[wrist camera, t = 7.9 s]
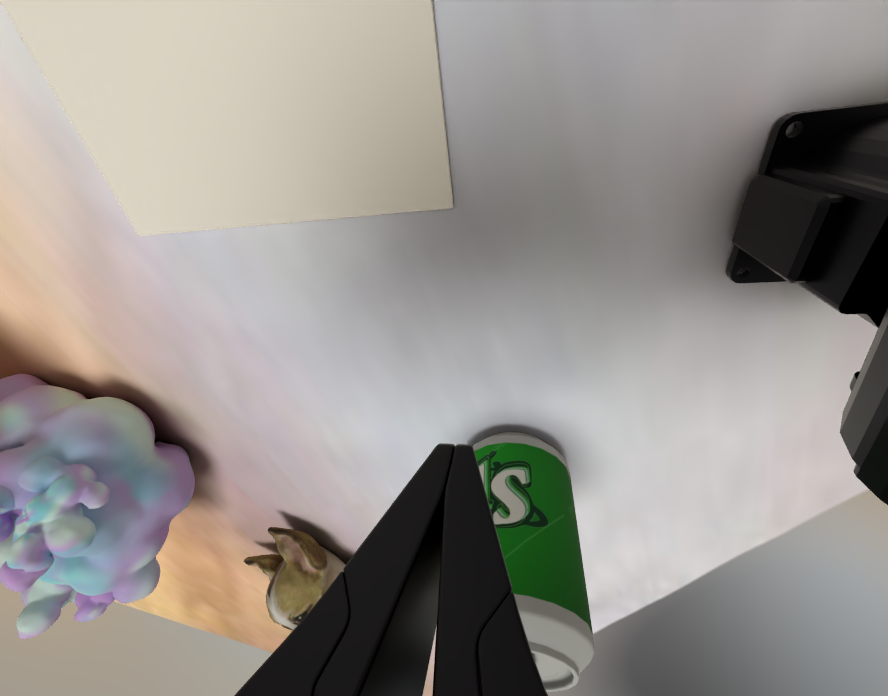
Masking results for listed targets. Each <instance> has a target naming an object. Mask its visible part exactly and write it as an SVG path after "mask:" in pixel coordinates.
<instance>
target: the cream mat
mask: <svg viewBox="0 0 888 696" xmlns="http://www.w3.org/2000/svg"><path fill="white" fill-rule="evenodd" d="M0 2H1V4H2V5H3V7H4V9H5V10H6V12H7V14H8V16H9V17H10V19H11V21H12V22H13V24H14V26H15V27H16V29H17V31H18V33H19V34H20V36H21V38H22V39H23V41H24V43H25V44H26V46H27V48H28V50H29V51H30V53H31V55H32V56H33V58H34V60H35V61H36V63H37V65H38V67H39V68H40V70H41V72H42V73H43V75H44V77H45V78H46V80H47V82H48V84H49V85H50V87H51V89H52V90H53V92H54V94H55V95H56V97H57V99H58V101H59V102H60V104H61V106H62V107H63V109H64V111H65V112H66V114H67V116H68V118H69V119H70V121H71V123H72V124H73V126H74V128H75V129H76V131H77V133H78V135H79V136H80V138H81V140H82V141H83V143H84V145H85V146H86V148H87V150H88V152H89V153H90V155H91V157H92V158H93V160H94V162H95V163H96V165H97V167H98V169H99V170H100V172H101V174H102V175H103V177H104V179H105V180H106V182H107V184H108V186H109V187H110V189H111V191H112V192H113V194H114V196H115V197H116V199H117V201H118V203H119V204H120V206H121V208H122V209H123V211H124V213H125V214H126V216H127V218H128V220H129V221H130V223H131V225H132V226H133V228H134V230H135V231H136V233H137V235H138V236H144V235H155V234H167V233H178V232H189V231H201V230H212V229H224V228H235V227H246V226H258V225H269V224H281V223H292V222H303V221H315V220H326V219H337V218H349V217H360V216H372V215H383V214H394V213H406V212H417V211H428V210H440V209H451V208H453V207H454V205H453V195H452V185H451V175H450V166H449V156H448V146H447V136H446V126H445V117H444V107H443V97H442V87H441V78H440V68H439V58H438V48H437V38H436V29H435V19H434V9H433V0H0Z"/></svg>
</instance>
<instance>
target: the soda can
mask: <svg viewBox="0 0 888 696" xmlns="http://www.w3.org/2000/svg"><path fill="white" fill-rule="evenodd" d="M473 448H474V452H475V455H476V459H477V462H478V466H479V470H480V473H481V477H482V481H483V484H484V488H485V491H486V495H487V499H488V502H489V506H490V509H491V513H492V517H493V520H494V524H495V527H496V531H497V535H498V538H499V542H500V545H501V549H502V553H503V556H504V560H505V563H506V567H507V571H508V574H509V578H510V581H511V585H512V590H513V593H514V595H515V599H516V602H517V606H518V610H519V613H520V617H521V620H522V623H523V626H524V630H525V633H526V636H527V639H528V643H529V646H530V649H531V652H532V654H533V657H534V660H535V663H536V665H537V668H538V671H539V673H540V676H541V679H542V681H543V684H544V687H545V689H546V692H556V691H560V690H566V689H569V688H571V687H573V686H575V685H576V684H577V682H578V679H579V673H580V672H581V671H582V670H583V669H584V668H585V667H586V666H587V665H588V664H589V663H590V661H591V659H592V656H593V654H594V651H595V647H594V640H593V633H592V626H591V619H590V612H589V605H588V598H587V591H586V584H585V577H584V570H583V563H582V556H581V549H580V542H579V535H578V528H577V521H576V514H575V507H574V500H573V493H572V486H571V479H570V472H569V469H568V466H567V463H566V461H565V459H564V458H563V457H562V456H561V455H560V454H559V452H558V451H557V450H556V449H555V448H553V447H551V446H549V445H547V444H546V443H545V442H543V441H542V440H540V439H538V438H536V437H535V436H531V435H528V434H524V433H519V432H504V433H498V434H494V435H491V436H489V437H487V438H485V439H483V440H482V441H480V442H477V443H475V444H474V445H473Z"/></svg>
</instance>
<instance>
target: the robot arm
mask: <svg viewBox="0 0 888 696" xmlns="http://www.w3.org/2000/svg"><path fill="white" fill-rule="evenodd" d="M794 122H795V123H796V129H795V130H794V132H793V133H792V134H790V135H789V136H787V135H786V130H787V128H788V126H790V125H791V124H792V123H794ZM732 241H733V243H734V244H735V246H734V249H733V252H732V255H731V258H730V261H729V264H728V267H727V271H726V274H727V276H728V277H729V278H730V279H731V280H732V281H734V282H735V283H757V282H783V281H788V282H790V283H797V284H799V285H800V286H802V287H803V288H805V289H806V290H808V291H809V292H811V293H812V294H813V295H815V296H816V297H818V298H819V299H821V300H822V301H824V302H825V303H827V304H828V305H830V306H831V307H833V308H834V309H836V310H837V311H839V312H840V313H843V314H857V315H859V316H860V317H862V318H863V319H865V320H867V321H868V322H870V323H871V324H873V325H874V326H876V327H877V328H879V329H878V331H877V333H876V336H875V338H874V340H873V343H872V345H871V347H870V350H869V352H868V354H867V357H866V359H865V361H864V364H863V366H862V368H861V371H859V372H856V373H855V374H854V377H853V379H852V381H851V384H850V389H851V391H852V392H851V395H850V397H849V399H848V401H847V404H846V406H845V408H844V411H843V416H842V422H841V429H840V434H841V436H842V438H843V440H844V442H845V444H846V446H847V449H848V451H849V453H850V455H851V457H852V459H853V460H854V461H855V463H856V466H855V468H854V473H855V475H856V477H857V478H858V479H859V480H861V481H862V482H863V483H864V484H865V485H866V486H867V487H868V488H869V489H870V490H871V491H872V492H873V493H874V494H875V495H876V496H877V497H878V498H879V499H880V500H882V501H883V502H884V503H886V504H887V505H888V102H879V103H871V104H862V105H854V106H846V107H837V108H829V109H820V110H812V111H803V112H795V113H791V114H787V115H785V116H784V117H782V118H781V119H780V120H779V121H778V122H777V123H776V124H775V126H774V128H773V130H772V132H771V135H770V138H769V142H768V145H767V148H766V151H765V154H764V157H763V160H762V163H761V166H760V169H759V172H758V175H757V176H756V177H755V178H754V179H753V180H752V181H751V183H750V186H749V189H748V193H747V196H746V199H745V202H744V205H743V208H742V211H741V214H740V218H739V221H738V224H737V227H736V230H735V233H734V236H733V240H732ZM745 267H746V269H745V271H744V272H743V273H741V274H738V275H737V272H738V271H739V270H740V269H741V268H745ZM343 570H344V572H343V571H342V572H340V573H339V574H338V576H337V577H336V578H335V580H334V581H333V582H332V584H331V585H330V586H329V588H328V589H327V590H326V592H325V593H324V594H323V595H322V597H321V598H320V599H319V600H318V602H317V603H316V604H315V605H314V607H313V608H312V609H311V610H310V612H309V613H308V614H307V615H306V616H305V618H304V619H303V620H302V621H301V622H300V623H299V624H298V626H297V627H296V628H295V629H294V630H293V631H292V632H291V634H290V635H289V636H288V637H287V638H286V639H285V640H284V642H283V643H282V644H281V645H280V646H279V647H278V648H277V649H276V650H275V651H274V653H273V654H272V655H271V656H270V657H269V658H268V659H267V660H266V661H265V663H264V664H263V665H262V666H261V667H260V668H259V669H258V670H257V671H256V672H255V674H254V675H253V676H252V677H251V678H250V679H249V680H248V681H247V682H246V683H245V684H244V686H243V687H242V688H241V689H240V690H239V691H238V692H237V693H236V695H235V696H422V695H423V690H424V685H425V680H426V675H427V670H428V665H429V660H430V655H431V650H432V645H433V640H434V635H435V630H436V625H437V630H436V647H435V664H434V681H433V696H548V694H547V692H546V689H545V687H544V684H543V681H542V679H541V676H540V673H539V671H538V668H537V665H536V663H535V660H534V657H533V654H532V652H531V649H530V646H529V643H528V639H527V636H526V633H525V630H524V626H523V623H522V620H521V617H520V613H519V610H518V606H517V602H516V599H515V595H514V593H513V590H512V585H511V581H510V578H509V574H508V571H507V567H506V563H505V560H504V556H503V553H502V549H501V545H500V542H499V538H498V535H497V531H496V527H495V524H494V520H493V517H492V513H491V509H490V506H489V502H488V499H487V495H486V491H485V488H484V484H483V481H482V477H481V473H480V470H479V466H478V462H477V459H476V455H475V452H474V448H473V446H472V445H465V444H457V445H456V446H455V445H454V444H438V445H437V446H436V447H435V448H434V450H433V451H432V452H431V454H430V455H429V456H428V458H427V459H426V460H425V462H424V463H423V464H422V466H421V467H420V468H419V470H418V471H417V472H416V473H415V475H414V476H413V477H412V479H411V480H410V481H409V483H408V484H407V485H406V487H405V488H404V489H403V491H402V492H401V493H400V495H399V496H398V497H397V498H396V500H395V501H394V502H393V504H392V505H391V506H390V508H389V509H388V510H387V512H386V513H385V514H384V516H383V517H382V518H381V520H380V521H379V522H378V523H377V525H376V526H375V527H374V529H373V530H372V531H371V533H370V534H369V535H368V537H367V538H366V539H365V541H364V542H363V543H362V545H361V546H360V547H359V548H358V550H357V551H356V552H355V554H354V555H353V556H352V558H351V559H350V560H349V562H348V563H347V564H346V566H345V567H344V569H343Z"/></svg>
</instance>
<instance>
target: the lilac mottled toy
mask: <svg viewBox="0 0 888 696" xmlns="http://www.w3.org/2000/svg"><path fill="white" fill-rule="evenodd" d="M154 440H155V431H154V426H153V423H152V422H151V420H150V418H149V417H148V416H147V415H146V413H145V412H144V411H142V410H141V409H140V408H139V407H137V406H135V405H133V404H132V403H129V402H127V401H124V400H121V399H118V398H114V397H98V398H93V399H87V398H86V397H85V396H84V395H82V394H80V393H78V392H76V391H72V390H69V389H65V388H61V387H56V386H50V385H48V384H47V383H46V382H44V381H42V380H41V379H39V378H37V377H35V376H32V375H29V374H15V375H11V376H8V377H5V378H2V379H0V581H1V582H2V583H3V584H4V585H5V586H6V587H7V588H9V589H11V590H12V591H16V592H20V591H21V599H22V602H23V604H24V606H25V609H24V610H23V611H22V612H21V614H20V615H19V617H18V619H17V623H16V627H17V630H18V636H19V637H20V638H22V639H27V638H31V637H34V636H36V635H39V634H41V633H42V632H44V631H45V630H47V629H48V628H49V627H50V626H51V625H53V623H54V622H55V621H56V620H57V619H58V617H59V615H60V612H61V608H62V607H63V606H65V605H66V604H67V603H68V602H75V604H76V605H77V607H78V611H77V612H76V614H75V617H74V618H75V620H77V621H79V622H86V621H90V620H93V619H95V618H97V617H99V616H100V615H101V614H103V613H104V611H105V610H106V608H107V606H108V605H110V604H111V603H112V602H113V601H114V599H116V600H117V601H119V602H120V603H125V604H126V603H130V602H134V601H137V600H140V599H142V598H144V597H146V596H148V595H149V594H150V593H151V592H153V590H154V589H155V588H156V586H157V584H158V581H159V577H160V566H159V564H158V562H157V560H156V555H157V554H158V552H159V551H160V549H161V548H162V546H163V544H164V542H165V540H166V538H167V535H168V531H169V525H170V522H171V520H172V519H173V518H174V517H175V516H176V515H177V514H179V513H180V512H181V511H182V510H183V509H185V508H186V507H187V505H188V504H189V503H190V501H191V499H192V496H193V493H194V489H195V478H194V473H193V470H192V467H191V464H190V461H189V456H188V454H187V453H186V451H185V450H184V449H183V448H182V447H181V446H178V445H173V444H166V443H163V442H160V441H159V442H157V443H155V444H154Z"/></svg>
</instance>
